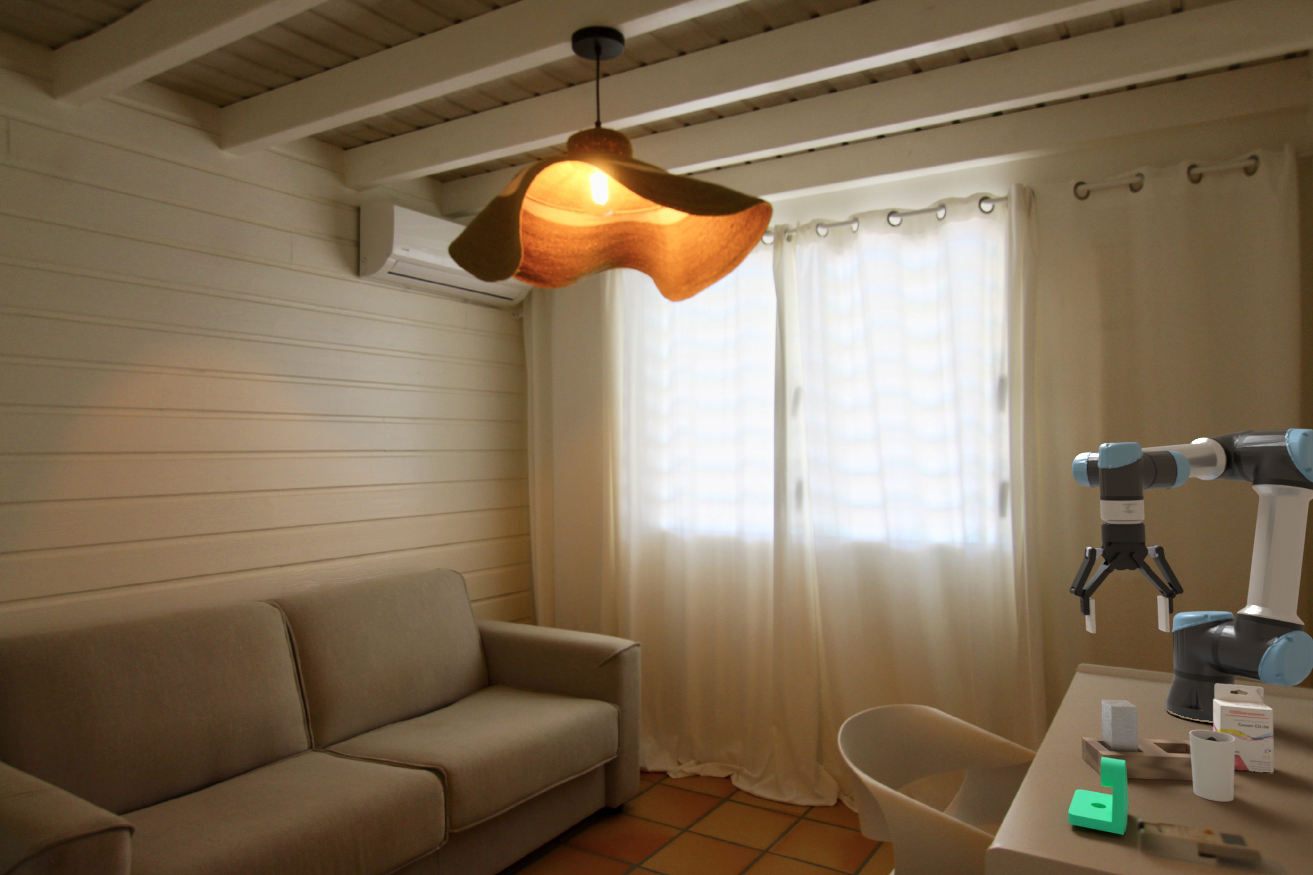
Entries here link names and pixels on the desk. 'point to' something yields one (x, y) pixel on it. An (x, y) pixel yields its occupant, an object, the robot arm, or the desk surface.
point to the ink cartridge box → (1245, 725)
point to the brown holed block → (1145, 758)
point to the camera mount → (1103, 801)
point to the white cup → (1212, 764)
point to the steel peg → (1119, 726)
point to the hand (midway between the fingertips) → (1127, 631)
